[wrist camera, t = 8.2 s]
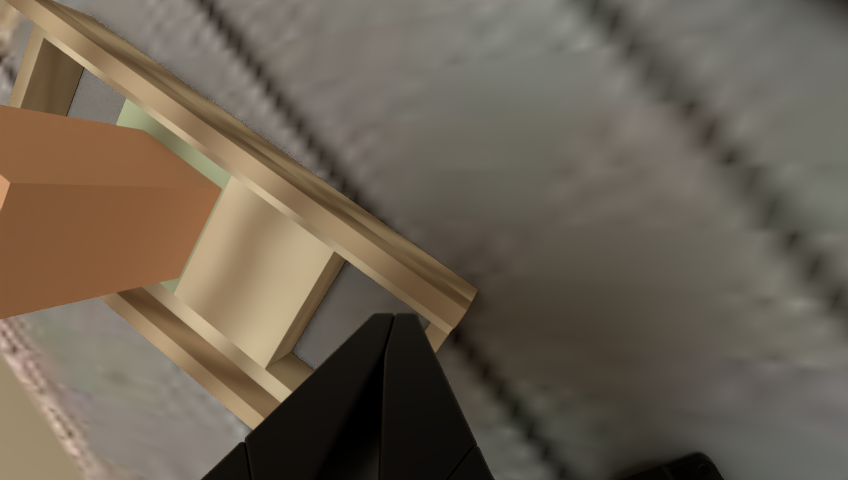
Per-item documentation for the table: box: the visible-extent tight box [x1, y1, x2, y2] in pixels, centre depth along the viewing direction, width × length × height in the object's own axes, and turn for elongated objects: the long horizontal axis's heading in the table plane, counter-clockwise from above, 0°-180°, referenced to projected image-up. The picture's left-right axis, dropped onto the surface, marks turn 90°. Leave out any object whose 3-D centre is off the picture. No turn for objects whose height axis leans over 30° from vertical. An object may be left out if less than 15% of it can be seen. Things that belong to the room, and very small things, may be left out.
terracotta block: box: [0, 105, 222, 319], centre depth 18 cm, size 6×6×9 cm
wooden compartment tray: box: [5, 0, 478, 430], centre depth 22 cm, size 30×12×4 cm, turn 57°
